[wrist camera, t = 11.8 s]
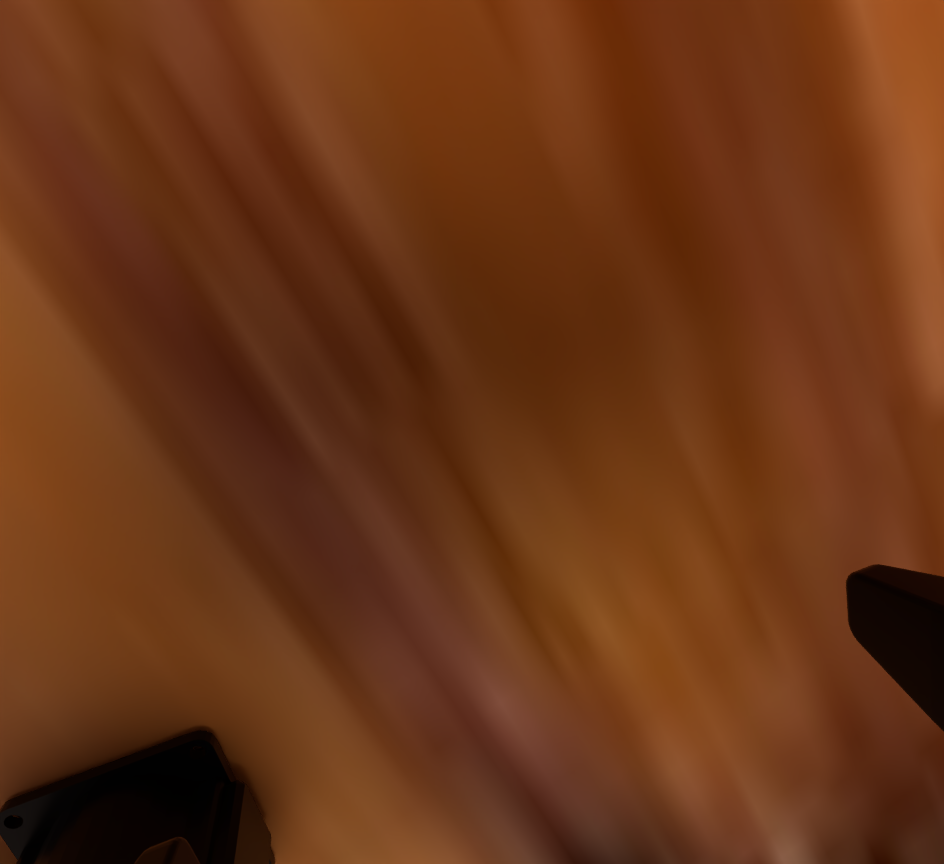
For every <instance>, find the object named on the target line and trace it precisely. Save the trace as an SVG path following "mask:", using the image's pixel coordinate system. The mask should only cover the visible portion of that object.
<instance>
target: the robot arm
mask: <svg viewBox="0 0 944 864" xmlns="http://www.w3.org/2000/svg"><path fill="white" fill-rule="evenodd" d="M846 593H847V609H848V622H849V626H850V629H851V631H852V633H853V635H854V637H855V638H856V640H857V641H858V642H859V643H860V644H861V645H862V646H863V647H864V648H865V650H866V651H867V652H868V653H869V654H870V655H871V656H872V657H873V658H874V659H875V660H876V661H877V662H878V663H879V664H880V665H881V666H882V667H883V669H884V670H885V671H886V672H887V673H888V674H889V675H890V676H891V677H892V678H893V679H894V680H895V681H896V682H897V683H898V684H899V685H900V687H901V688H902V689H903V690H904V691H905V692H906V693H907V694H908V695H909V696H910V697H911V698H912V699H913V700H914V701H915V702H916V703H917V704H918V706H919V707H920V708H921V709H922V710H923V711H924V712H925V713H926V714H927V715H928V716H929V717H930V718H931V719H932V720H933V721H934V722H935V723H936V724H937V725H938V726H939V727H940V728H941V729H942V730H943V731H944V577H942V576H937V575H932V574H927V573H921V572H916V571H911V570H906V569H901V568H895V567H890V566H885V565H879V564H878V565H871V566H868V567H866V568H863V569H860V570H858V571H855V572H853V573H851V574H850V575H849V576H848V578H847V580H846ZM196 746H201V747H203V748H204V749H203V750H195V749H193V747H196ZM12 815H17V816H20V818H17V817H13V816H12ZM0 835H1V837H2V838H3V839H4V841H5V842H6V844H7V845H8V847H9V848H10V850H11V851H12V853H13V854H14V856H15V857H16V858H17V860H18V861H17V863H16V864H275V857H274V855H273V853H272V851H271V849H270V844H271V834H270V832H269V830H268V828H267V826H266V824H265V822H264V820H263V818H262V816H261V813H260V811H259V809H258V807H257V805H256V803H255V801H254V799H253V797H252V795H251V793H250V791H249V789H248V787H247V785H246V784H245V783H244V782H242V781H240V780H236V778H235V776H234V774H233V772H232V770H231V768H230V766H229V764H228V762H227V760H226V758H225V756H224V754H223V752H222V750H221V748H220V746H219V744H218V742H217V740H216V738H215V737H214V736H213V734H212V733H210V732H207V731H201V730H200V731H195V732H192V733H189V734H186V735H184V736H181V737H178V738H175V739H173V740H170V741H167V742H165V743H162V744H159V745H156V746H154V747H151V748H148V749H146V750H143V751H140V752H138V753H135V754H132V755H129V756H127V757H124V758H121V759H119V760H116V761H113V762H110V763H108V764H105V765H102V766H100V767H97V768H94V769H92V770H89V771H86V772H83V773H81V774H78V775H75V776H73V777H70V778H67V779H65V780H62V781H59V782H56V783H54V784H51V785H48V786H46V787H43V788H40V789H37V790H35V791H32V792H29V793H27V794H24V795H21V796H19V797H16V798H13V799H11V800H9V801H7V802H6V803H5V804H4V805H3V806H2V808H1V809H0Z"/></svg>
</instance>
